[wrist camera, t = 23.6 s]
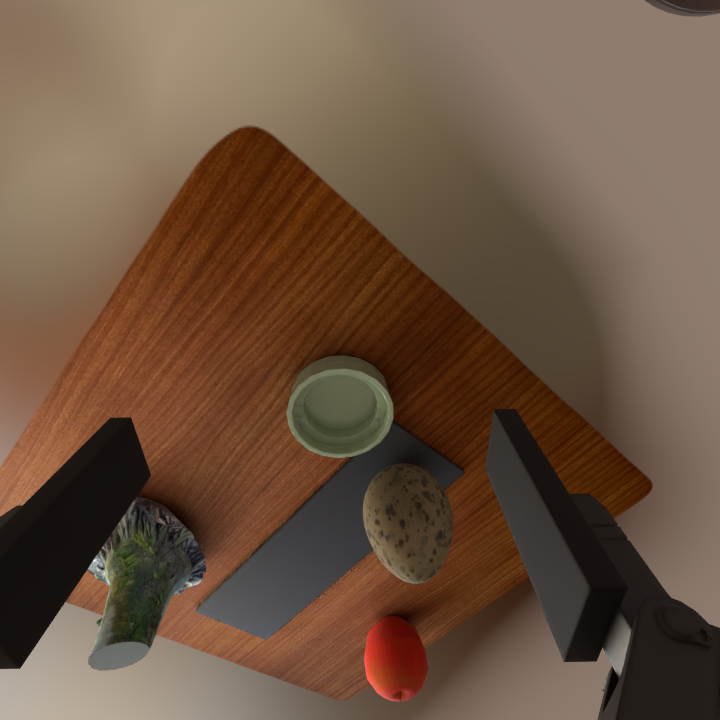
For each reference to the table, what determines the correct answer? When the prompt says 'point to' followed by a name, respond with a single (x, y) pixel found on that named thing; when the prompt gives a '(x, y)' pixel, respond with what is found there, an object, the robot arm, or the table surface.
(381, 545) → the decorative egg
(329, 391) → the bowl
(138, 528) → the tree stump
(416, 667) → the apple
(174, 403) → the table surface
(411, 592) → the table surface
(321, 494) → the mat
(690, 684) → the robot arm
